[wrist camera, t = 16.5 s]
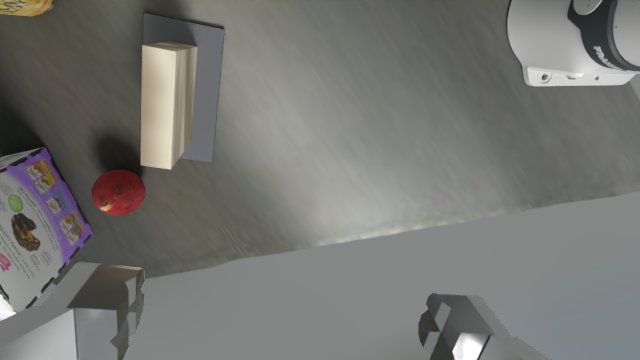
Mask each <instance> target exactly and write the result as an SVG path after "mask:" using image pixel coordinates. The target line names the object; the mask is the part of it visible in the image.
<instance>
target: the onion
mask: <svg viewBox="0 0 640 360" xmlns="http://www.w3.org/2000/svg"><path fill="white" fill-rule="evenodd" d="M145 190H146V189H145V186H144V183H143V181H142V179H141V178H140V177H139V176H138V175H137V174H135V173H133V172H131V171H128V170H121V169H116V170H113V171H109V172H106V173H104V174H103V175H102V176H100V177H99V178H98V179H97V180H96V182H95V184H94V186H93V188H92V198H93V201H94V203H95V204H96V206H97V207H98V208H99V209H100V210H101V211H103V212H105V213H107V214H110V215H116V216H121V215H125V214H129V213H131V212H133V211H134V210H135V209H137V208H138V207H139V206H140V205H141V203H142V202H143V200H144V198H145Z"/></svg>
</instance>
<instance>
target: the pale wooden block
mask: <svg viewBox="0 0 640 360" xmlns="http://www.w3.org/2000/svg"><path fill="white" fill-rule="evenodd" d="M196 62H197V46H192V45H187V44H182V43H177V42H172V41H170V42H163V43H155V44H148V45H142V100H141V165H143V166H150V167H157V168H165V169H171V168H172V167H173V166H174V164H175V163H176V162H177V160H178V159H179V157H180V156H181V155H182V153H183V152H184V151H185V149H186V148H187V147H188V145H189V144H190V143H191V136H192V122H193V107H194V92H195V77H196Z"/></svg>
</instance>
